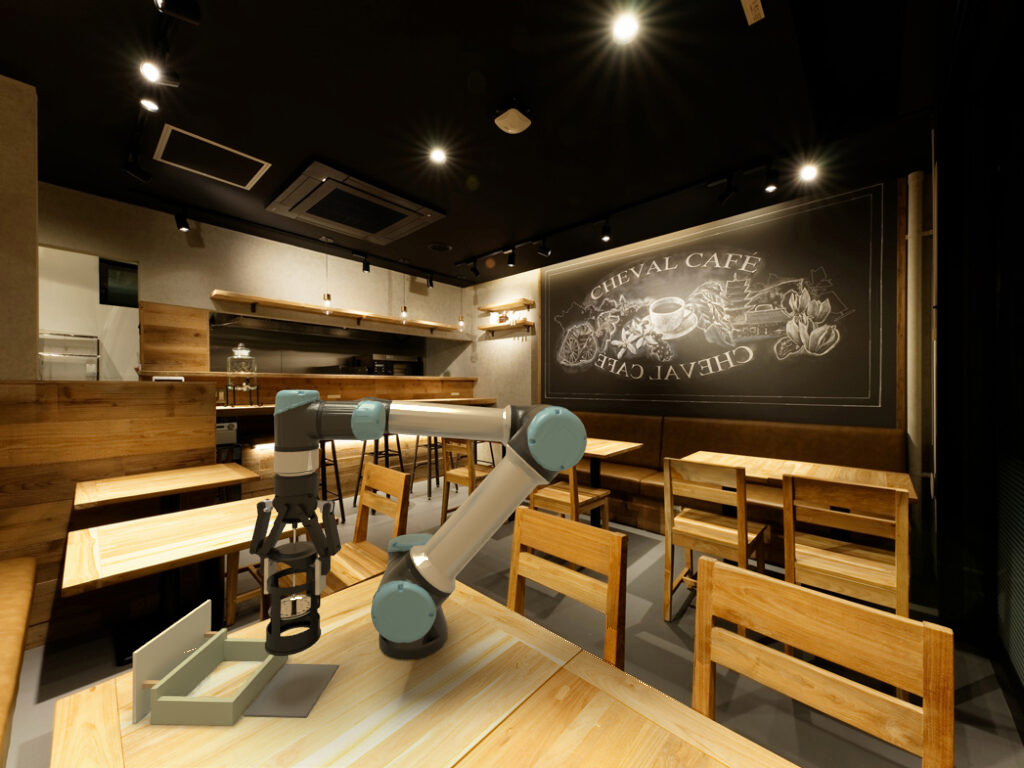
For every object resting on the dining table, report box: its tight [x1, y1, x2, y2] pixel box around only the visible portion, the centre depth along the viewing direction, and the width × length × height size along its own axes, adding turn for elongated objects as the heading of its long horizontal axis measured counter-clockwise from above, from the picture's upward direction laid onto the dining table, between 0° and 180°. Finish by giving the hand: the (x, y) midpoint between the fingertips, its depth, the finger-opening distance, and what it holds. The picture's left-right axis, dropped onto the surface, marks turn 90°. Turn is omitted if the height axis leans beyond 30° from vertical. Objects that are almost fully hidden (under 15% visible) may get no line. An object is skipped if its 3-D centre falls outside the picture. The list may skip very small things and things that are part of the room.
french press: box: [265, 519, 322, 657], centre depth 78 cm, size 12×9×23 cm
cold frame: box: [131, 599, 289, 727], centre depth 78 cm, size 17×17×12 cm
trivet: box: [242, 662, 340, 719], centre depth 78 cm, size 11×13×1 cm
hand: (295, 590), depth 78 cm, fingers closed on french press, 9 cm apart
